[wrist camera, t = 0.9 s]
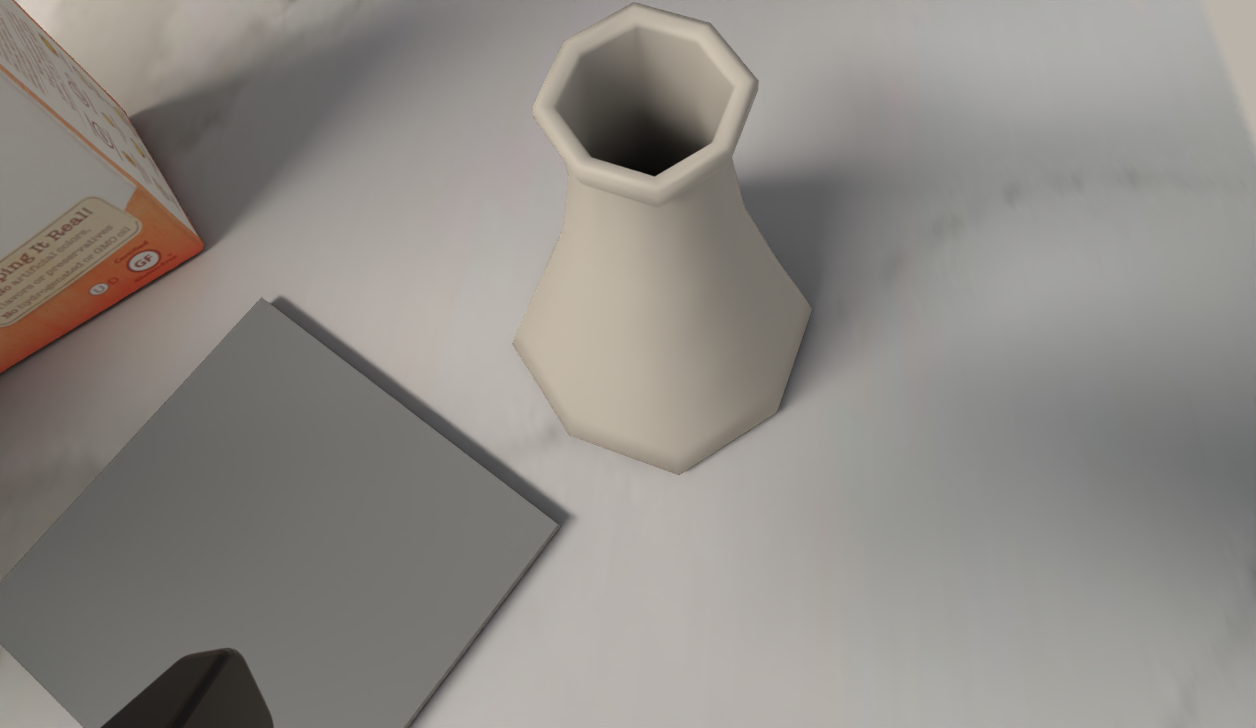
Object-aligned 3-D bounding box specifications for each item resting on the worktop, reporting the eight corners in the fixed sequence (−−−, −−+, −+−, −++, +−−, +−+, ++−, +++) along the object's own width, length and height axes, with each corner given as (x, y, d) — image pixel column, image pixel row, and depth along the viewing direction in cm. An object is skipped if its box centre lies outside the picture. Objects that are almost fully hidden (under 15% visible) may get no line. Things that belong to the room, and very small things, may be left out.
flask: (685, 529, 21) (686, 426, 11) (465, 352, 22) (305, 134, 13) (860, 308, 22) (991, 50, 13) (641, 158, 24) (613, -165, 14)
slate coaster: (560, 526, 21) (558, 524, 20) (273, 904, 19) (264, 909, 18) (268, 303, 23) (261, 297, 23) (-17, 615, 21) (-30, 614, 21)
